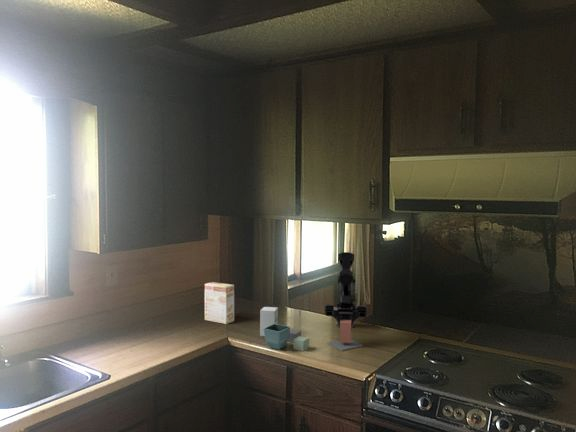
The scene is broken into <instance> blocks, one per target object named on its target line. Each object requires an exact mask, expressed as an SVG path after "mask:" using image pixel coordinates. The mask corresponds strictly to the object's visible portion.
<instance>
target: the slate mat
mask: <svg viewBox="0 0 576 432" xmlns="http://www.w3.org/2000/svg"><path fill="white" fill-rule="evenodd" d="M326 344H327V345H329V346H331V347H333V348H335V349H337V350H339V351H341V352H343V351H347V350H353V349H358V348H362V347H364V344H362V343H360V342H357V341H355V340H353V339H351V343H340V339H339V340H335V341H334V340H333V341H330V342H329V341H328V342H327V343H326Z"/></svg>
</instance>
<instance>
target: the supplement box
mask: <svg viewBox="0 0 576 432" xmlns="http://www.w3.org/2000/svg"><path fill="white" fill-rule="evenodd" d="M259 311H260V312H259V315H260V316H259V317H260V318H259V337H265V334H264V328H266V327H268V326H270V325H272V324H278V325H279V321H278V320H279V318H278V317H279V308H278V307H275V306H264V307H262V308H261V309H260V310H259Z"/></svg>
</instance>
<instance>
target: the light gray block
mask: <svg viewBox="0 0 576 432" xmlns="http://www.w3.org/2000/svg"><path fill="white" fill-rule="evenodd" d="M301 335H302V331H301V330H296V329H290V333H289V339H288V341H287V343H291V344H293V339H295V338H297V337H298V336H300V337H302V336H301Z"/></svg>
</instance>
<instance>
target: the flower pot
mask: <svg viewBox="0 0 576 432" xmlns="http://www.w3.org/2000/svg"><path fill="white" fill-rule="evenodd" d="M290 330H291V326H287V325H282V324H279V323H278V324H272V325H270V326H268V327H266V328H264V334H265V336H264V339H265V342H266V344H267V346H268V348H270V349H276V350H280V349H282V348H284V347H285V346H286V345H287V343H288V342H287V341H288V339H289V333H290Z"/></svg>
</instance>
